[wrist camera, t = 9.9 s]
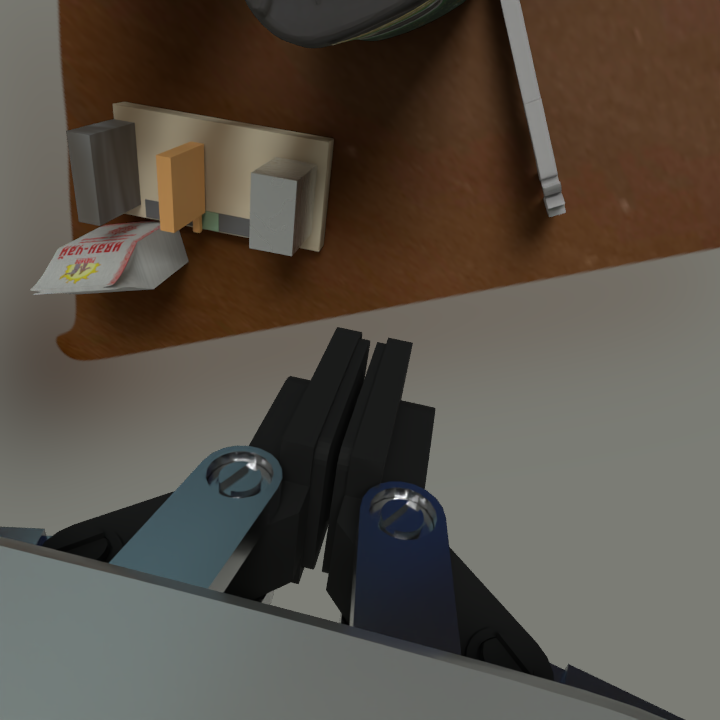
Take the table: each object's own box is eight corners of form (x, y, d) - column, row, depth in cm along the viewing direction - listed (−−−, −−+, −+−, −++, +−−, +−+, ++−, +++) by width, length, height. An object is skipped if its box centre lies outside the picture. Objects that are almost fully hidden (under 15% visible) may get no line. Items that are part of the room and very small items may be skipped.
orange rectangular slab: (203, 143, 40) (170, 157, 36) (205, 231, 43) (175, 253, 39) (190, 141, 40) (155, 154, 36) (193, 229, 44) (161, 250, 39)
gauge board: (333, 138, 40) (307, 158, 34) (323, 245, 44) (298, 279, 38) (124, 101, 42) (63, 114, 36) (133, 208, 46) (80, 235, 40)
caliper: (559, 199, 39) (571, 226, 34) (544, 203, 40) (552, 231, 34) (484, -157, 31) (484, -195, 26) (465, -147, 31) (460, -183, 26)
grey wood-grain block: (317, 164, 39) (297, 181, 35) (311, 233, 42) (291, 256, 38) (276, 156, 40) (250, 172, 35) (273, 225, 42) (249, 247, 38)
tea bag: (188, 261, 47) (124, 312, 39) (118, 266, 49) (42, 316, 40) (175, 218, 46) (104, 261, 37) (103, 225, 47) (19, 268, 39)
